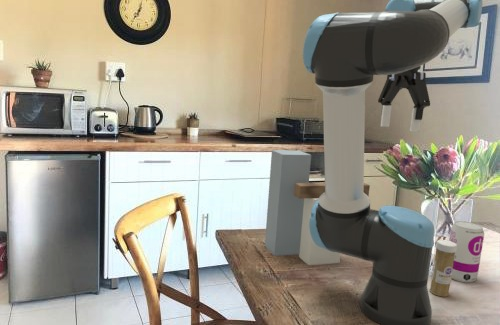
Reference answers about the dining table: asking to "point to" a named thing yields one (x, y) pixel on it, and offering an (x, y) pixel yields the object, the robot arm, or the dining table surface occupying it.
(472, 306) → the dining table surface
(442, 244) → the sprinkles bottle
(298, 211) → the step stand
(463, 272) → the supplement can
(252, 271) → the dining table surface
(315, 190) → the walnut bar
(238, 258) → the dining table surface
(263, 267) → the dining table surface
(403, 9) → the robot arm
